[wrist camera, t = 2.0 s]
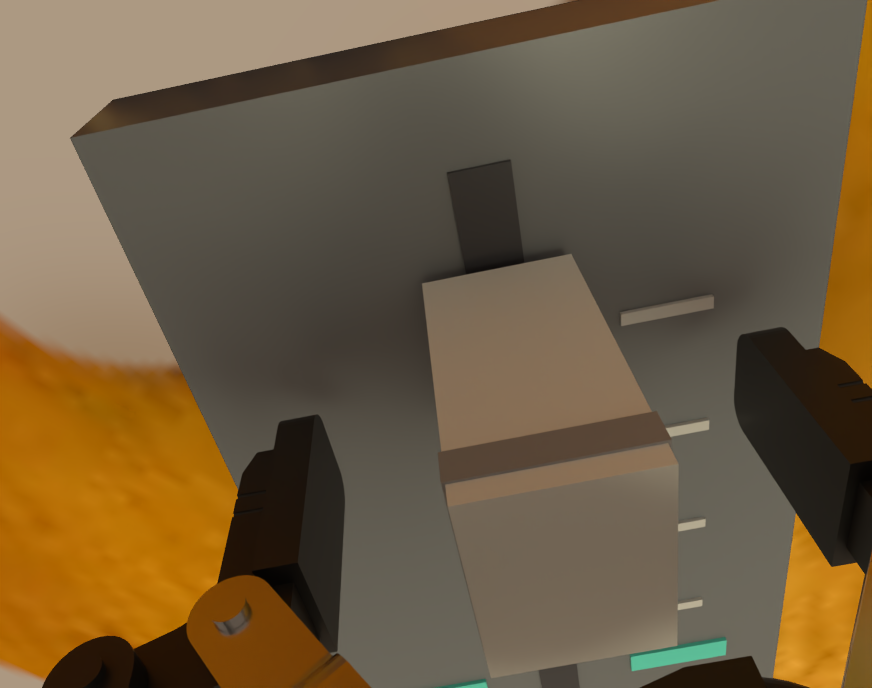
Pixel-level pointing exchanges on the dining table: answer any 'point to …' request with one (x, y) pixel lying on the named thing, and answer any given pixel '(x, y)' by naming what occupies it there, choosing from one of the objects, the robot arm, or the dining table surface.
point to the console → (490, 249)
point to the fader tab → (551, 470)
